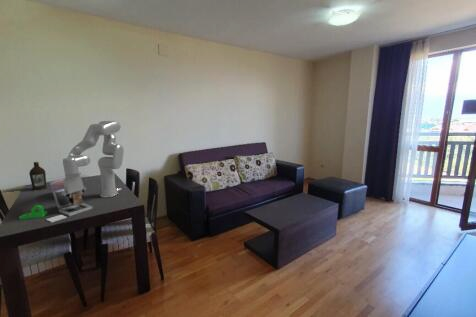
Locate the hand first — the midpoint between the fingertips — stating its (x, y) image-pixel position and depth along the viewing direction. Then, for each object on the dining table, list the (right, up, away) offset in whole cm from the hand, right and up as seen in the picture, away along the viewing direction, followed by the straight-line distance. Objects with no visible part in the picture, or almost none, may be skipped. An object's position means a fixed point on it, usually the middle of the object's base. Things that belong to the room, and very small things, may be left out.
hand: (76, 200), depth 154 cm
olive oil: (-67, +1, +47) cm, 81 cm away
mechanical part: (-20, -8, -10) cm, 24 cm away
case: (-2, -7, +2) cm, 7 cm away
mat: (-3, -9, -13) cm, 16 cm away
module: (0, -2, 0) cm, 2 cm away
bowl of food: (-31, -1, +31) cm, 44 cm away
